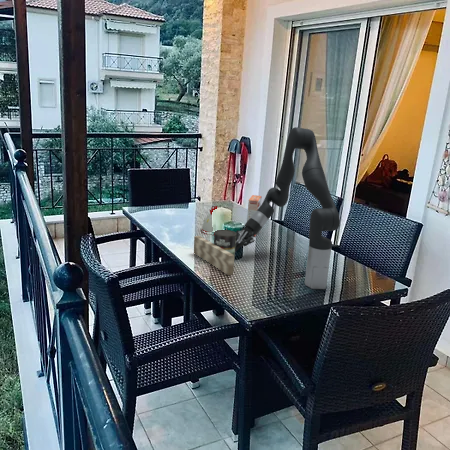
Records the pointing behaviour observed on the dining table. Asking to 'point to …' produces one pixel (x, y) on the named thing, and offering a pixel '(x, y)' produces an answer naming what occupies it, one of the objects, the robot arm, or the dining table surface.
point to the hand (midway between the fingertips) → (233, 250)
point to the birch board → (214, 255)
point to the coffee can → (225, 240)
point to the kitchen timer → (208, 221)
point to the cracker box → (253, 205)
